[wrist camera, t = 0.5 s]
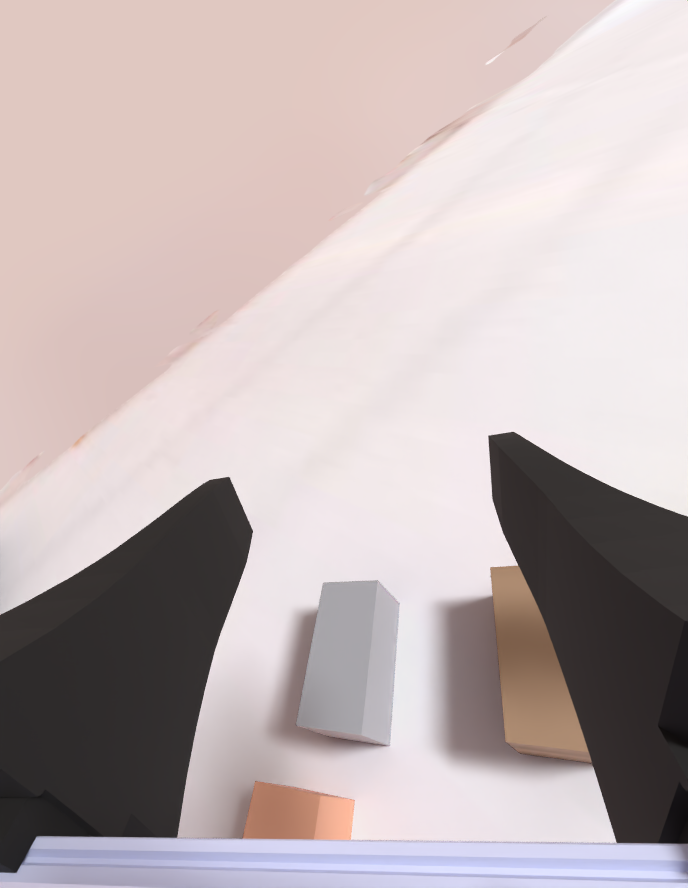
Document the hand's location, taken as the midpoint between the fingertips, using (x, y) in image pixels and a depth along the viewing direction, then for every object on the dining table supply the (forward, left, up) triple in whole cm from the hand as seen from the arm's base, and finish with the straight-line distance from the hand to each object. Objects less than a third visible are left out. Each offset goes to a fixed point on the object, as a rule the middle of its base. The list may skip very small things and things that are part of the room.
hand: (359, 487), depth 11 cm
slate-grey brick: (0, +8, -18) cm, 20 cm away
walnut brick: (0, -3, -18) cm, 19 cm away
